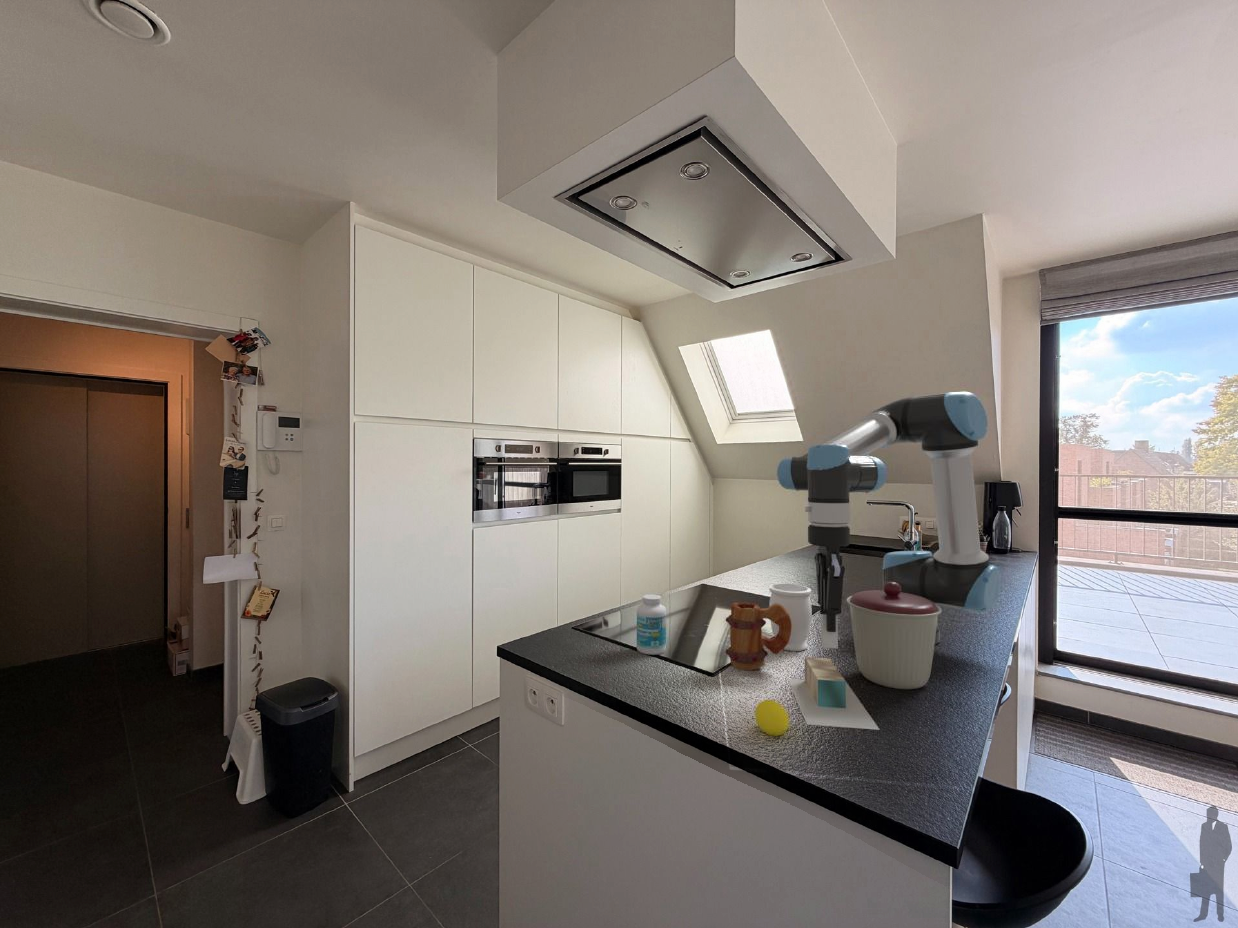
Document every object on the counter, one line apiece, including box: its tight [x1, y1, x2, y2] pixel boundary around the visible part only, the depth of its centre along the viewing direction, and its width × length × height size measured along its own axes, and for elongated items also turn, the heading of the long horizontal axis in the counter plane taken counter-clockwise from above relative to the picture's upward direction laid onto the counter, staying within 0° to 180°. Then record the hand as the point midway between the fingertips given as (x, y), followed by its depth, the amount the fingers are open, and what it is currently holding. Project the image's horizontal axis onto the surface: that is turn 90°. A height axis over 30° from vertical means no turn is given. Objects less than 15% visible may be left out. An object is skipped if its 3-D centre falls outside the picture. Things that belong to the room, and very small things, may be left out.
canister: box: [846, 582, 943, 690], centre depth 111 cm, size 18×18×21 cm
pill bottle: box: [636, 594, 667, 656], centre depth 129 cm, size 8×7×14 cm
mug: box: [724, 602, 792, 671], centre depth 117 cm, size 15×8×15 cm, turn 70°
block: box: [804, 656, 847, 708], centre depth 103 cm, size 5×5×12 cm
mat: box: [787, 678, 881, 731], centre depth 99 cm, size 12×20×1 cm, turn 171°
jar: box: [768, 583, 813, 652], centre depth 132 cm, size 11×10×15 cm
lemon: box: [754, 699, 790, 737], centre depth 88 cm, size 7×5×5 cm
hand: (829, 646), depth 99 cm, fingers closed
